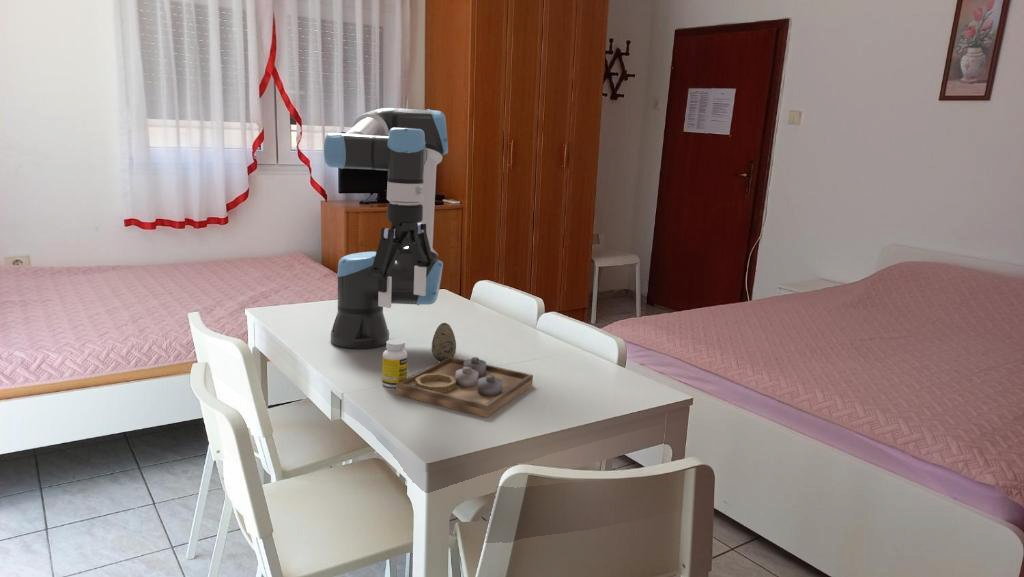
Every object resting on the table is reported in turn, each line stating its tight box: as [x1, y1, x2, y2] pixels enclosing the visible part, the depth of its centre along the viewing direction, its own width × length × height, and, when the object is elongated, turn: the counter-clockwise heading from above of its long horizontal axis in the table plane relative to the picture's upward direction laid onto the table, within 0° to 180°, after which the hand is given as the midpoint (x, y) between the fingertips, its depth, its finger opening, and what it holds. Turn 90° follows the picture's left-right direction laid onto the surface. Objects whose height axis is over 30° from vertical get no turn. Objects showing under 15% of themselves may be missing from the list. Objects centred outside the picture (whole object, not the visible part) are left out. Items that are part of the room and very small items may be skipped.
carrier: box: [395, 356, 534, 418], centre depth 154 cm, size 22×22×5 cm
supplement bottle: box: [381, 338, 408, 389], centre depth 155 cm, size 5×5×10 cm
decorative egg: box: [431, 322, 457, 362], centre depth 171 cm, size 6×6×10 cm
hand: (402, 300), depth 153 cm, fingers open, 13 cm apart
